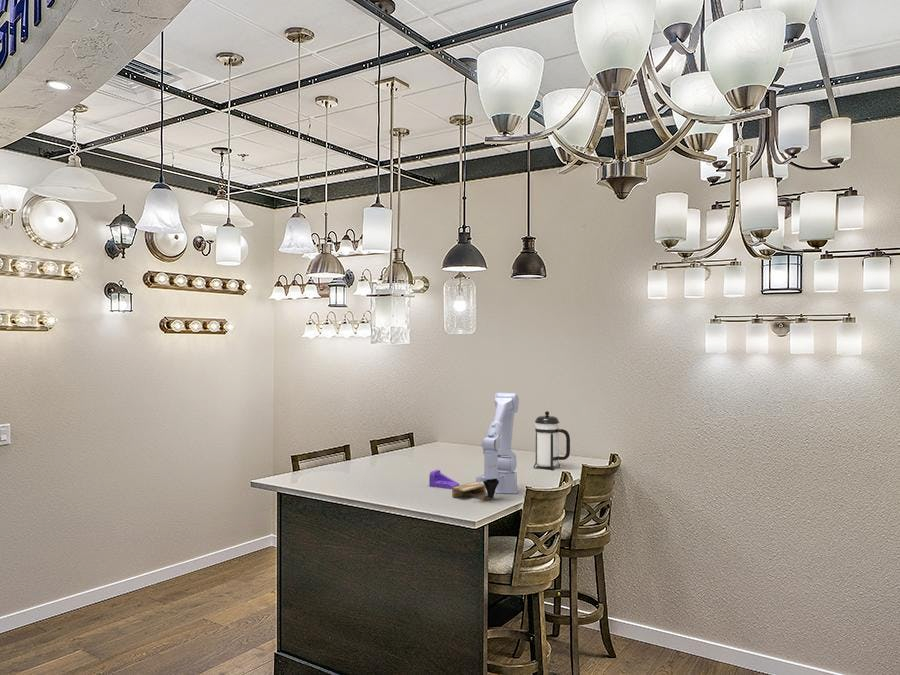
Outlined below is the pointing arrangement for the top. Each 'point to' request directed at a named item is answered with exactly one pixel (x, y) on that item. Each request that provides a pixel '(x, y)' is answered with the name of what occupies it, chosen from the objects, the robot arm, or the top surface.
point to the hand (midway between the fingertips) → (490, 497)
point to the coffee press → (549, 441)
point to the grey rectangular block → (477, 494)
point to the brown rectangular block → (467, 488)
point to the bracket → (441, 480)
